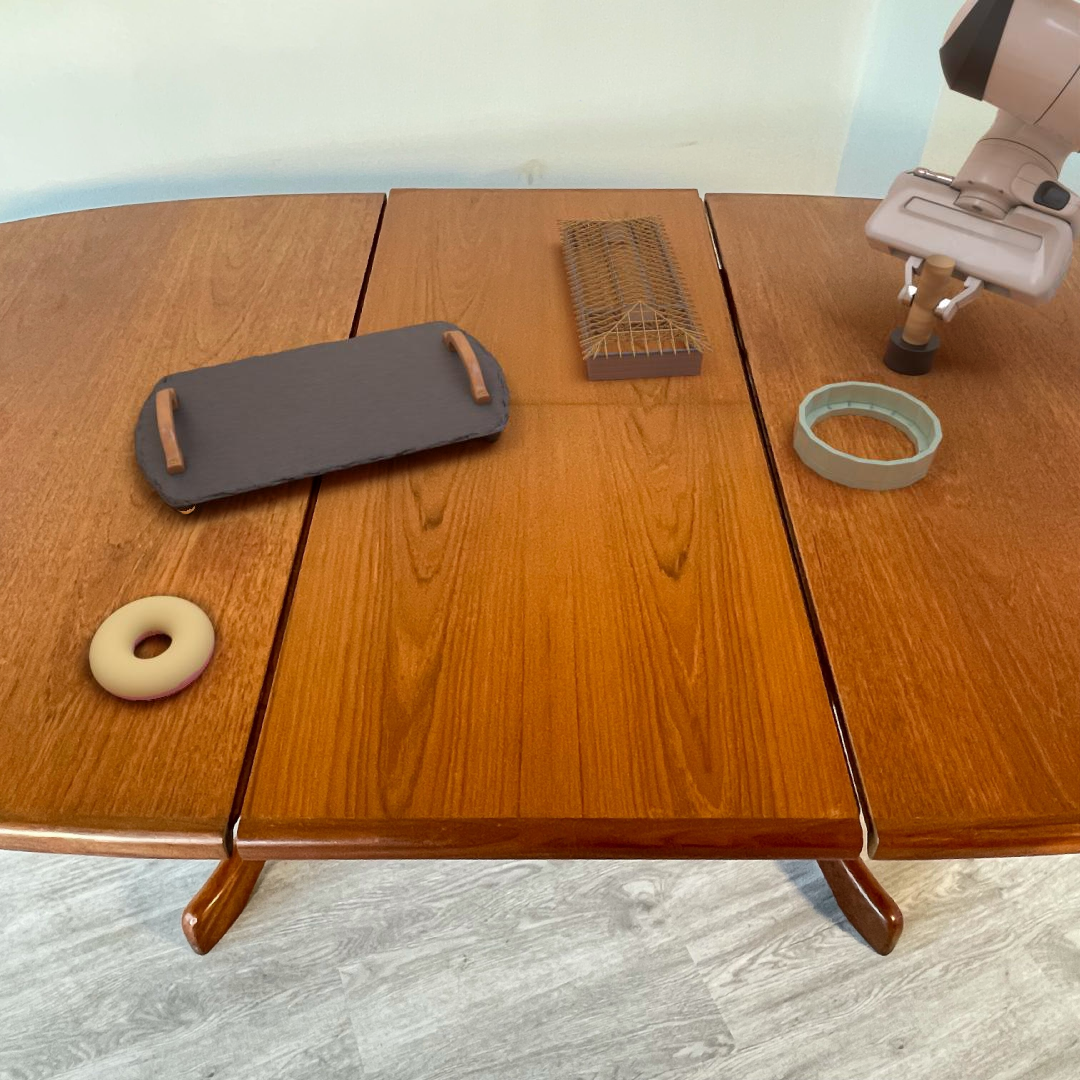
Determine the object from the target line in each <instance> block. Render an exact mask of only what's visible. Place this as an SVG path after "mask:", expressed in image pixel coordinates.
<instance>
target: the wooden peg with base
mask: <svg viewBox="0 0 1080 1080" xmlns="http://www.w3.org/2000/svg"><path fill="white" fill-rule="evenodd" d="M954 266H955V261H954V260H953V259H952V258H950V257H948V256H945V255H939V254H935V255H930V256H928V257H927V258H926V261H925V264H924V267H923V271H922V274H921V276H919V280H918V284H917V286H916V287H917V290H916V293H915V296H914V299H913V302H912V306H911V308H910V309H909V312H908V315H907V317H906V318H907V319H906V322H905V324H904V326H899V327H896V328H894V329H893V330H892V331H891V332H890V333H889V337H888V340H887V344H886V347H885V351H884V354H883V358H882V359H883V362H884V365H886V367H888V368H889V369H890V370H892V371H894V372H896V373H899V374H903V375H906V376H907V375H908V376H920V375H924V374H927V373H929V372H930V371H931V370H932V369H933V367H934V363H935V362H936V361H935V360H936V358H937V355H938V352H939V349H940V347H941V339H940V337H939V336H938V335H937V334H936V333H934V332H933V330H934V328H935V325H936V321H937V319H938V318H936V317H935V315H934V311H935V309H936V307H937V306H939V302H940V301H941V300H942V298H945V295H946V292H947V289H948V287H949V284H950V280H951V278H952V277H951V275H952V272H953V269H954Z"/></svg>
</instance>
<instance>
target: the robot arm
mask: <svg viewBox="0 0 1080 1080" xmlns="http://www.w3.org/2000/svg"><path fill="white" fill-rule="evenodd" d="M938 54H939V61H940V67H941V70H942V74H943V76H944V79H945V82H946V84H947V87H948V89H949V90H951V91H953V92H956V93H959V94H961V95H963V96H966V97H969V98H971V99H974V100H977V101H979V102H985V103H988V104H989V105H990V106H993V107H995V108H997V109H996V113H995V114H996V115H995V117H994V119H993V122H992V124H991V126H990V127H989V129H988V130H987V131H986V132H985V133H984V134H983V135H982V136H981V137H980V138H979V139H978V140H977V142H976V143H975V144H974V146H973V148H972V149H971V151H970V153H969V154H968V156H967V157H966V159H965V161H964V162H963V164H962V166H961V167H960V169H958V170H959V171H958V172H957V173H956V175H955V176H953V175H950V174H945V173H941V172H936V171H933V170H930V169H928V168H927V167H922V166H917V167H915V169H913V168H912V169H907V170H904V171H902V172H900V173H899V174H898V175H897V176H896V177H895V179H894V180H893V182H892V184H891V186H890V187H889V189H888V192H887V194H886V196H885V197H884V198H883V200H882V201H881V202H880V203H879V204H878V206H877V207H876V208H875V209H874V211H873V213H872V214H871V215H870V217H869V218H868V220H867V221H866V222H865V225H864V228H863V229H864V236H865V239H866V242H867V244H868V246H869V247H870V249H872V250H875V251H877V252H880V253H883V254H885V255H889V256H891V257H895V258H897V259H899V260H902V261H905V262H906V263H905V264H904V266H905V267H904V285H903V287H902V289H901V290H900V292H899V294H898V295H897V302H898V304H900V305H902V306H904V307H907V308H910V309H911V306H912V302H913V299H914V296H915V293H916V290H917V287H918V286H916V283H915V282H916V276H917V277H921V274H922V271H923V267H924V264H925V261H926V258H927V257H928V256H930V255H935V254H939V255H945V256H948V257H950V258H952V259H953V260H954V261H955V266H954V269H953V272H952V275H951V278H952V279H954V280H958V281H960V282H963V287H964V290H963V291H961V292H959V293H958V294H956V295H955V296H954V297H952V298H946V297H944V298H942V300H941V301H940V302H939V306H937V307H936V309H935V311H934V315H935V317H936V318H937V319H938V320H940V321H942V322H946V323H949V322H951V320H952V319H953V317H954V316H955V314H956V313H957V312H958V309H959V310H960V309H962V308H963V307H965V306H967V305H969V304H970V303H972V302H974V301H975V300H977V299H978V298H979V297H980V295H981V294H982V292H983V290H985V291H988V292H990V293H993V294H996V295H999V296H1001V297H1004V298H1007V299H1010V300H1013V301H1015V302H1018V303H1020V304H1023V305H1026V306H1029V307H1032V308H1035V309H1037V308H1040V307H1042V306H1044V305H1046V304H1049V303H1050V302H1051V301H1052V299H1053V298H1054V297H1055V296H1056V293H1057V292H1058V290H1059V289H1060V287H1061V284H1062V283H1063V280H1064V279H1065V276H1066V274H1067V272H1068V270H1069V268H1070V265H1071V263H1072V260H1073V253H1074V252H1073V250H1074V249H1073V248H1074V242H1075V241H1076V240H1077V239H1078V238H1079V236H1080V195H1078V194H1077V193H1076V192H1075V191H1073V190H1071V189H1070V188H1068V187H1067V186H1065V185H1064V184H1063V183H1061V182H1060V181H1059V178H1060V175H1061V174H1062V173H1061V172H1062V169H1063V166H1064V164H1065V163H1066V161H1067V159H1068V158H1069V156H1070V155H1071V154H1072V153H1076V154H1080V2H1079V1H1076V0H966V1H965V2H964V4H963V5H962V6H961V8H959V10H958V11H957V13H956V14H955V16H953V19H952V20H951V21H950V24H949V25H948V28H947V29H946V31H945V34H944V36H943V39H942V43H941V46H940V48H939V50H938Z"/></svg>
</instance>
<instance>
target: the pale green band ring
mask: <svg viewBox="0 0 1080 1080" xmlns="http://www.w3.org/2000/svg"><path fill="white" fill-rule="evenodd" d="M849 415H850V416H859V417H869V418H872V419H875V420H878V421H882V422H883V423H887V424H889V425H891V426H892V427H894V428H896V429H897V430H899V431H900V432H902V433H904V434H905V435H906V437H907V438H908V439H909V440H910V442H911V443H912V444H913V446H914V450H915V455H914V456H912V457H906V458H900V459H893V460H879V459H870V458H861V457H858V456H855V455H852V454H848V453H845V452H843V451H839V450H837V449H835V448H833V447H832V446H831V445H829V444H828V443H826V442H824V441H823V440H821V439H820V438H819V437H817V436H816V435H815V433H814V432H813V431H812V430H813V429H814V427H815V426H816V425H817V424H819V423H821V422H823V421H825V420H827V419H829V418H834V417H835V418H836V417H842V416H849ZM792 431H793V432H792V437H793V438H792V443H793V445H792V446H793V449H794V451H795V452H796V453H797V455H798V457H799V458H800V459H801V461H802V463H803V464H804V465H805V466H807V467H808V468H810V469H811V470H813V471H814V472H815V473H817V474H818V475H819V476H821V477H822V478H824V479H826V480H829V481H831V482H834V483H837V484H840V485H843V486H846V487H848V488H852V489H861V490H870V491H879V492H883V491H888V490H889V491H890V490H895V489H896V490H897V489H903V488H907V487H909V486H910V485H913V484H915V483H916V482H918V481H920V480H922V479H923V478H925V477H926V476H927V474H928V472H929V470H930V469H931V467H932V465H933V463H934V460H935V458H936V455H937V452H938V450H939V447H940V445H941V442H942V439H943V431H942V425H941V421H940V419H939V418H938V417H937V416H936V414H935V413H934V412H933V410H932V409H930V408H929V406H928V405H927V404H926V403H925V402H923V401H921V400H919V399H918V398H916V397H915V396H913V395H911V394H910V393H908V392H906V391H904V390H900V389H898V388H894V387H891V386H887V385H885V384H882V383H877V382H866V381H856V380H850V381H849V380H848V381H842V382H834V383H827V384H825V385H823V386H821V387H819V388H817V389H814V390H813V391H810V392H808V394H806V396H805V398H804V399H803V400H802V402H801V403H800V404H799V405H798V409H797V413H796V417H795V422H794V425H793V430H792Z"/></svg>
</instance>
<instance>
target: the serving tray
mask: <svg viewBox="0 0 1080 1080" xmlns="http://www.w3.org/2000/svg"><path fill="white" fill-rule="evenodd" d="M510 403H511V392H510V389H509V386H508V385H507V379H506V376H505V372H504V371H503V368H502V366H501V364H500V363H499V361H498V360H497V358H496V357H495V356H494V355H493V353H492V352H491V351H489V350H488V349H486V347H485V346H484V345H483V344H482V343H481V342H480V341H479V340H478V339H477V338H476V337H475V336H473V335H471V334H469V333H468V332H467V331H466V330H464V329H461V328H460V327H458V325H456V324H454V323H451V322H448V321H445V320H435V321H428V322H423V323H419V324H411V325H407V326H403V327H400V328H399V327H398V328H393V329H388V330H382V331H381V330H380V331H377V332H370V333H365V334H360V335H357V336H354V337H351V338H346V339H343V340H342V339H341V340H335V341H325V342H319V343H315V344H314V343H313V344H309V345H304V346H300V347H297V348H292V349H285V350H284V351H278V352H273V353H266V354H262V355H253V356H248V357H246V358H242V359H238V360H233V361H232V362H223V363H218V364H216V365H209V366H201V367H198V368H194V369H189V370H185V371H177V372H175V373H171V374H168V375H165V376H163V377H162V378H161V379H159V381H157V382H156V384H155V385H153V388H152V390H151V393H150V394H149V396H147V398H146V399H145V401H144V402H143V405H142V408H141V409H140V412H139V415H138V420H137V423H136V425H135V428H134V430H133V437H134V440H133V441H134V442H133V445H134V446H133V447H134V458H135V460H136V462H137V464H138V467H139V469H140V471H141V473H142V476H143V477H144V479H145V480H146V483H147V485H149V486H150V487H151V488H153V490H154V491H155V492H156V493H157V494H158V495H159V497H160V498H161V500H163V502H164V503H166V504H167V505H169V506H170V507H173V508H174V510H176V511H177V510H179V511H187V510H189V509H192V508H193V507H194V506H195V505H196V506H197V504H201V503H205V502H209V501H213V500H217V499H222V498H226V497H233V496H235V495H240V494H244V493H247V492H251V491H256V490H261V489H264V488H268V487H275V486H278V485H281V484H282V485H283V484H286V483H288V482H292V481H293V482H294V481H299V480H302V479H308V478H311V477H318V476H320V475H324V474H328V473H331V472H336V471H341V470H347V469H350V468H353V467H357V466H363V465H364V466H365V465H367V464H371V463H374V462H375V463H376V462H379V461H383V460H390V459H393V458H397V457H400V456H406V455H410V454H415V453H419V452H421V451H426V450H429V449H434V448H438V447H443V446H447V445H452V444H456V443H459V442H465V441H468V440H472V439H477V438H482V437H483V438H484V439H485V441H486V442H488V443H495V442H497V441H499V438H500V437H501V436H502V432H503V431H504V430H505V429H506V427H507V424H508V421H509V418H510ZM196 503H197V504H196Z"/></svg>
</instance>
